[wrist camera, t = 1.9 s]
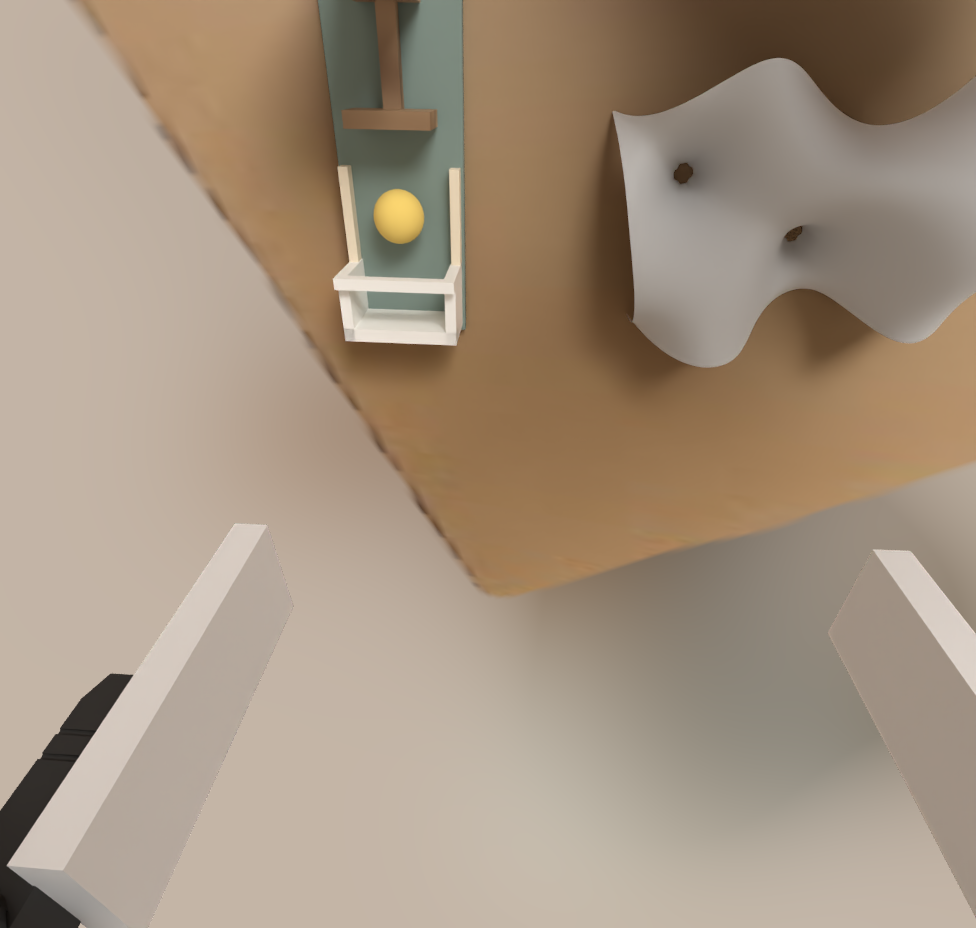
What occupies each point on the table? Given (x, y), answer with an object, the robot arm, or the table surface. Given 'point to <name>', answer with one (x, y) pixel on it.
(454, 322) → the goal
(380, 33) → the tan l-shaped block
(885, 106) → the table surface
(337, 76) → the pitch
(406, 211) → the ball
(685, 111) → the sculpture
